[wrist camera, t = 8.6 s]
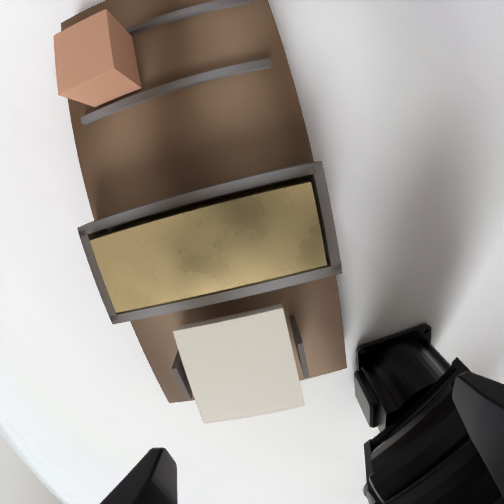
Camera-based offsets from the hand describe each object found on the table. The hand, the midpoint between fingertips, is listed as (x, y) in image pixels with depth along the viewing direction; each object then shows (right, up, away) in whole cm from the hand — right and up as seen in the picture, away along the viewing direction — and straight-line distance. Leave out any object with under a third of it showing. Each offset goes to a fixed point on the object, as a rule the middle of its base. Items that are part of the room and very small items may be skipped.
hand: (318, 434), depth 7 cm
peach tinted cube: (-10, +15, +7) cm, 19 cm away
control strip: (-5, +9, +11) cm, 15 cm away
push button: (-4, +6, +9) cm, 12 cm away
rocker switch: (-2, -1, +9) cm, 10 cm away
